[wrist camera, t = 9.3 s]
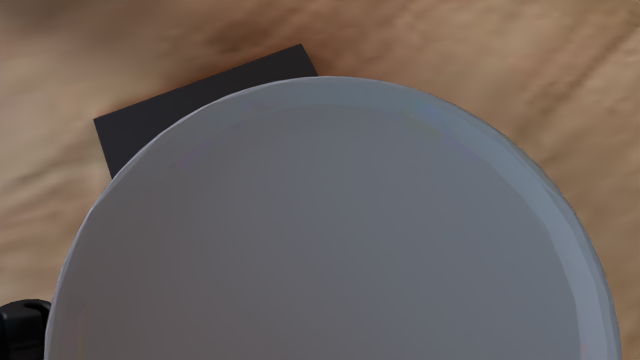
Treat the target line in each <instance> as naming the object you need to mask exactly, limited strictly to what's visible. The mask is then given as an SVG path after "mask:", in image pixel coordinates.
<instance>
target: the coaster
mask: <svg viewBox="0 0 640 360" xmlns="http://www.w3.org/2000/svg"><path fill="white" fill-rule="evenodd" d="M304 77H319V76H318V74H317V73H316V71H315V69H314V67H313V65H312V63H311V61H310V59H309V57H308V55H307V54H306V52H305V50H304V48H303V46H302V44H298V45H295V46H293V47H290V48H287V49H285V50H282V51H279V52H276V53H274V54H271V55H268V56H265V57H263V58H260V59H257V60H254V61H252V62H249V63H246V64H243V65H241V66H238V67H235V68H232V69H230V70H227V71H224V72H221V73H219V74H216V75H213V76H210V77H208V78H205V79H202V80H199V81H197V82H194V83H191V84H188V85H186V86H183V87H180V88H177V89H175V90H172V91H169V92H166V93H164V94H161V95H158V96H156V97H153V98H150V99H147V100H145V101H142V102H139V103H136V104H134V105H131V106H128V107H125V108H123V109H120V110H117V111H114V112H112V113H109V114H106V115H103V116H101V117H98V118H95V119H93V121H94V124H95V127H96V130H97V133H98V136H99V140H100V143H101V146H102V149H103V152H104V155H105V159H106V162H107V165H108V168H109V171H110V174H111V178H112V180H113V178H114V177H115V176H116V175H117V173H118V172H119V171H120V170H121V169H122V168H123V167H124V166H125V165H126V164H127V163H128V162H129V161H130V160H131V159H132V158H133V157H134V156H135V155H136V154H137V153H138V152H139V151H140V150H141V149H142V148H143V147H145V146H146V145H147V144H148V143H149V142H151V141H152V140H153V139H154V138H155V137H156V136H158V135H159V134H160V133H162V132H163V131H165V130H166V129H167V128H169V127H170V126H172V125H173V124H175V123H176V122H177V121H179V120H180V119H182V118H184V117H186V116H187V115H189V114H191V113H193V112H194V111H196V110H198V109H200V108H201V107H203V106H205V105H208V104H210V103H212V102H214V101H216V100H219V99H221V98H223V97H225V96H228V95H231V94H234V93H236V92H239V91H242V90H245V89H248V88H251V87H255V86H259V85H263V84H267V83H271V82H275V81H282V80H289V79H296V78H304Z"/></svg>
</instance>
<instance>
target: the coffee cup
mask: <svg viewBox="0 0 640 360" xmlns="http://www.w3.org/2000/svg"><path fill="white" fill-rule="evenodd" d="M44 360H622V356H621V344H620V332H619V326H618V322H617V318H616V313H615V309H614V305H613V300H612V296H611V293H610V290H609V287H608V283H607V280H606V277H605V273H604V270H603V267H602V265H601V263H600V260H599V258H598V256H597V254H596V252H595V249H594V247H593V245H592V243H591V241H590V238H589V237H588V235H587V233H586V231H585V229H584V227H583V226H582V224H581V222H580V220H579V218H578V217H577V215H576V213H575V212H574V210H573V209H572V207H571V206H570V205H569V203H568V202H567V200H566V199H565V198H564V196H563V195H562V193H561V192H560V190H559V189H558V188H557V187H556V185H555V184H554V183H553V182H552V181H551V180H550V178H549V177H548V176H547V175H546V174H545V172H544V171H543V170H542V169H541V168H540V167H539V166H538V165H537V164H536V163H535V162H534V161H533V160H532V159H531V158H530V157H529V156H528V155H527V154H526V153H525V152H524V151H523V150H522V149H521V148H519V147H518V146H517V145H516V144H514V143H513V142H512V141H511V140H509V139H508V138H507V137H506V136H504V135H503V134H502V133H501V132H499V131H498V130H496V129H495V128H493V127H492V126H490V125H489V124H487V123H486V122H484V121H483V120H482V119H480V118H479V117H477V116H475V115H473V114H471V113H469V112H468V111H466V110H464V109H462V108H460V107H458V106H456V105H455V104H452V103H450V102H448V101H445V100H443V99H441V98H438V97H436V96H434V95H432V94H429V93H426V92H422V91H419V90H416V89H413V88H410V87H407V86H403V85H398V84H394V83H390V82H386V81H381V80H374V79H366V78H358V77H339V76H321V77H304V78H296V79H289V80H282V81H275V82H271V83H267V84H263V85H259V86H255V87H251V88H248V89H245V90H242V91H239V92H236V93H234V94H231V95H228V96H225V97H223V98H221V99H219V100H216V101H214V102H212V103H210V104H208V105H205V106H203V107H201V108H200V109H198V110H196V111H194V112H193V113H191V114H189V115H187V116H186V117H184V118H182V119H180V120H179V121H177V122H176V123H175V124H173V125H172V126H170V127H169V128H167V129H166V130H165V131H163V132H162V133H160V134H159V135H158V136H156V137H155V138H154V139H153V140H152V141H151V142H149V143H148V144H147V145H146V146H145V147H143V148H142V149H141V150H140V151H139V152H138V153H137V154H136V155H135V156H134V157H133V158H132V159H131V160H130V161H129V162H128V163H127V164H126V165H125V166H124V167H123V168H122V169H121V170H120V171H119V172H118V173H117V175H116V176H115V177H114V178H113V180H112V181H111V182H110V183H109V184H108V186H107V187H106V188H105V189H104V191H103V192H102V193H101V195H100V196H99V198H98V199H97V201H96V202H95V204H94V205H93V207H92V208H91V210H90V211H89V212H88V214H87V215H86V217H85V219H84V221H83V223H82V225H81V227H80V229H79V231H78V233H77V234H76V236H75V238H74V240H73V242H72V245H71V247H70V249H69V252H68V254H67V256H66V259H65V261H64V263H63V266H62V268H61V270H60V274H59V278H58V281H57V285H56V288H55V292H54V296H53V299H52V304H51V309H50V313H49V318H48V323H47V328H46V332H45V349H44Z"/></svg>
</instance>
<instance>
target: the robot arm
mask: <svg viewBox="0 0 640 360" xmlns="http://www.w3.org/2000/svg"><path fill="white" fill-rule="evenodd" d="M50 309H51V303H50V302H48V301H44V300H39V299H24V300H20V301H15V302H11V303H8V304H6V305H4V306H1V307H0V360H44V349H45V332H46V328H47V323H48V318H49V313H50Z"/></svg>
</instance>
